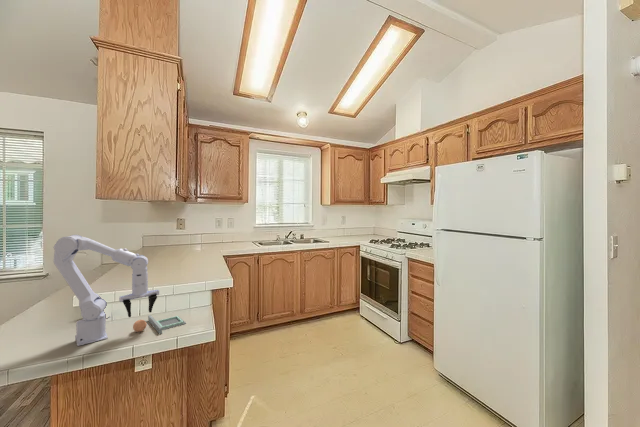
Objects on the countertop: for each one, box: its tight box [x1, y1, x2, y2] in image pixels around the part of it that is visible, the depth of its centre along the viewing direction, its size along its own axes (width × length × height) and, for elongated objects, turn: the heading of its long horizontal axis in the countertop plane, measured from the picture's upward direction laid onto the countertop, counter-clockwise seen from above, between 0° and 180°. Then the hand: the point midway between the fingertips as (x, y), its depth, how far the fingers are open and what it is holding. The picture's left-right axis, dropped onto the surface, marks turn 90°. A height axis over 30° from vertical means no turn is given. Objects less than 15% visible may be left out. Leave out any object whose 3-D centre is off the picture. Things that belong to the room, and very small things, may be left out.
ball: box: [132, 319, 147, 333], centre depth 118 cm, size 5×5×5 cm
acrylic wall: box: [147, 314, 163, 335], centre depth 123 cm, size 1×20×2 cm, turn 45°
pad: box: [156, 315, 187, 331], centre depth 127 cm, size 11×11×1 cm
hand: (140, 314), depth 118 cm, fingers open, 7 cm apart
